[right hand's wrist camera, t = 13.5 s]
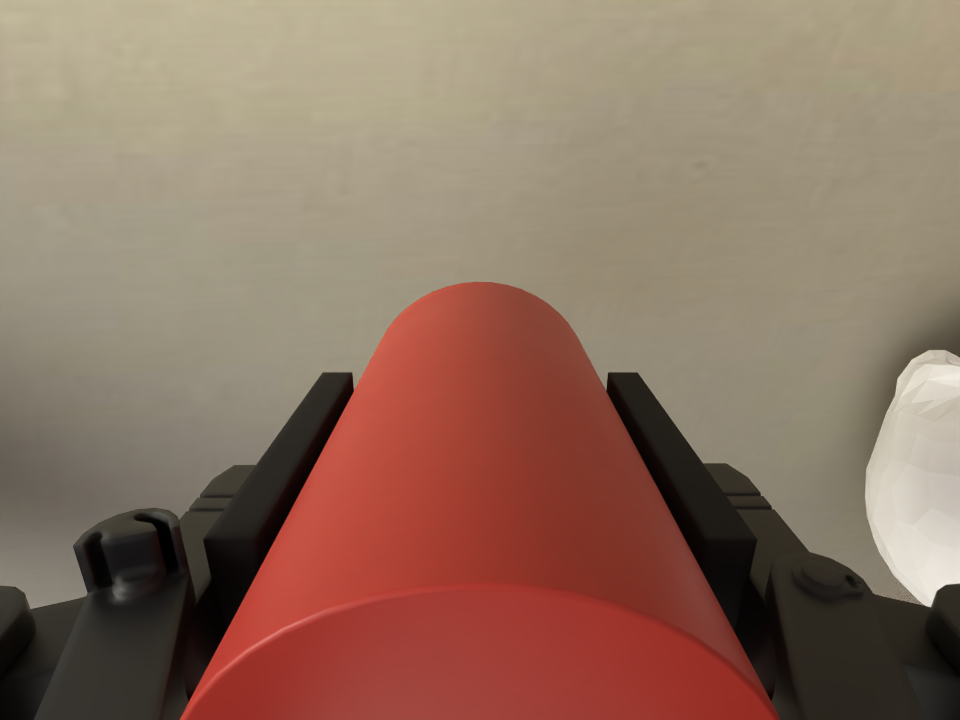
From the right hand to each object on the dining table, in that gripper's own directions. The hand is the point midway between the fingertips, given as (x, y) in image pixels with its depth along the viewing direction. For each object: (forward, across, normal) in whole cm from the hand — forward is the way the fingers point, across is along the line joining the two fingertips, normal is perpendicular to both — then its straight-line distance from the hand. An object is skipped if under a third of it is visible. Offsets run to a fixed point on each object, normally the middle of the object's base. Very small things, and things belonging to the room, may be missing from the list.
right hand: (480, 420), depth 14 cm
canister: (+2, 0, 0) cm, 2 cm away
